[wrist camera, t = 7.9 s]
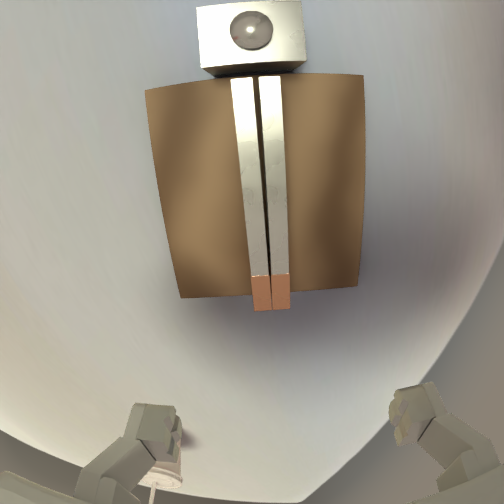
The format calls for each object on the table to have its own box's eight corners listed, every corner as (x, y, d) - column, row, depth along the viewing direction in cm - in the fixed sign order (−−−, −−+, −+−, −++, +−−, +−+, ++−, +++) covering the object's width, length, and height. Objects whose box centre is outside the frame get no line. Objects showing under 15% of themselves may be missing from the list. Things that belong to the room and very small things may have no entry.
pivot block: (289, 23, 19) (302, -3, 13) (293, 70, 21) (308, 59, 15) (209, 28, 19) (194, 5, 13) (213, 75, 21) (199, 66, 15)
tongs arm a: (256, 81, 20) (257, 76, 16) (275, 80, 20) (280, 75, 16) (269, 280, 27) (272, 309, 23) (285, 279, 27) (290, 308, 23)
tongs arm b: (233, 83, 20) (230, 79, 16) (252, 81, 20) (252, 77, 16) (254, 281, 27) (254, 311, 23) (269, 280, 27) (271, 309, 23)
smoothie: (143, 413, 40) (123, 495, 27) (185, 417, 40) (172, 504, 27) (154, 434, 43) (139, 509, 30) (193, 438, 42) (183, 516, 30)
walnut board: (357, 76, 21) (363, 75, 19) (353, 277, 29) (357, 286, 28) (150, 90, 21) (144, 90, 20) (183, 289, 29) (180, 298, 28)
